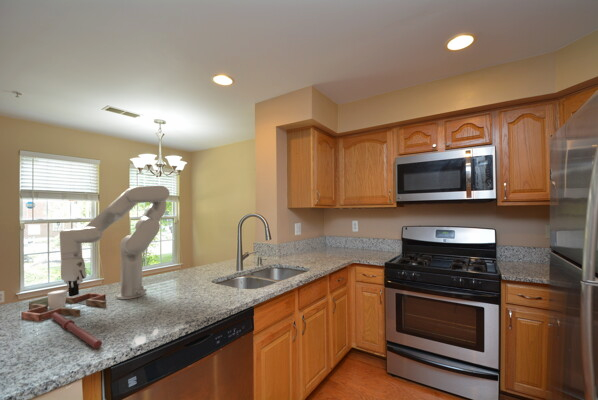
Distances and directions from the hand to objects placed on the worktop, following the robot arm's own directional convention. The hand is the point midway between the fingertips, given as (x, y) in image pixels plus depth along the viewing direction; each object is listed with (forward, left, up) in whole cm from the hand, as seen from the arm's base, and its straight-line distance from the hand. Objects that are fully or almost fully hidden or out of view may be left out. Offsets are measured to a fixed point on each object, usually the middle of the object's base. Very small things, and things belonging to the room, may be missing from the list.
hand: (73, 295), depth 122 cm
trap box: (+2, +1, -6) cm, 6 cm away
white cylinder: (+9, +1, -6) cm, 11 cm away
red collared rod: (-28, +18, -6) cm, 34 cm away
